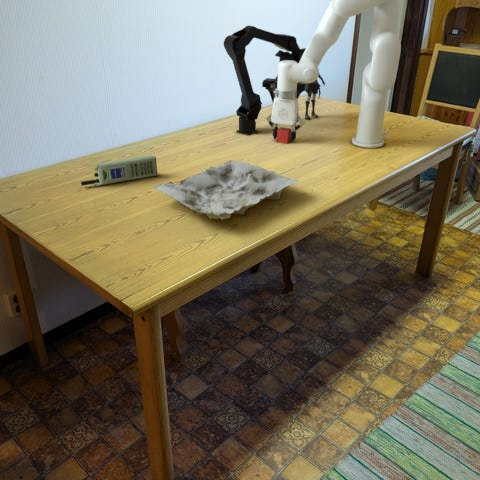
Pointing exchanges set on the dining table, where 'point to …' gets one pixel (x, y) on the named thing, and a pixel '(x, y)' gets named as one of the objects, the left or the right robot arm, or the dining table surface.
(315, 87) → the figurine
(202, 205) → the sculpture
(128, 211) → the dining table surface
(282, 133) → the block
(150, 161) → the handheld radio
